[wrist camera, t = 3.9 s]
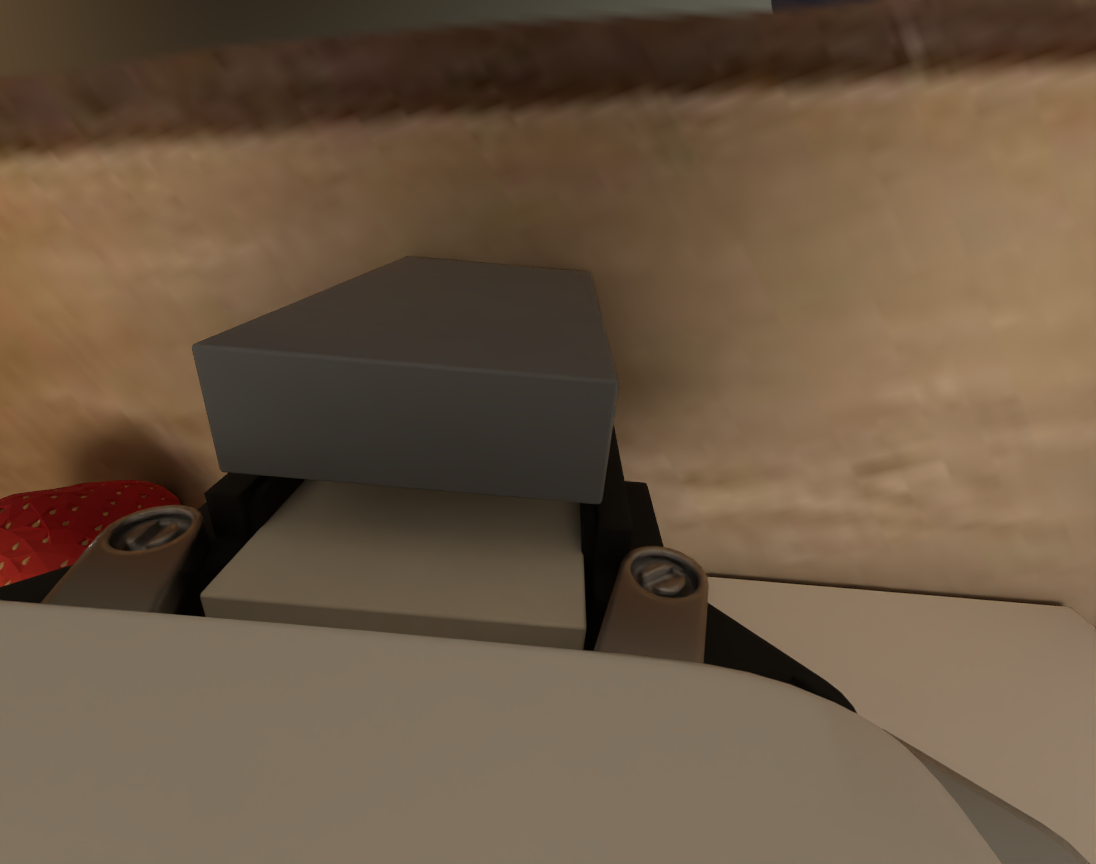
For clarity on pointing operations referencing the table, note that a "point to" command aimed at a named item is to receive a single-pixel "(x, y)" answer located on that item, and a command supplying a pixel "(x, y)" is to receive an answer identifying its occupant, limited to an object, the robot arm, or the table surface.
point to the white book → (412, 566)
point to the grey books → (422, 383)
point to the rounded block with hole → (953, 683)
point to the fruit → (65, 522)
